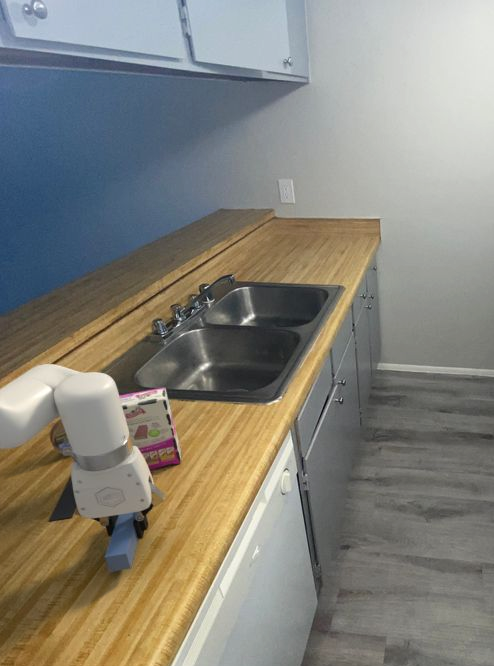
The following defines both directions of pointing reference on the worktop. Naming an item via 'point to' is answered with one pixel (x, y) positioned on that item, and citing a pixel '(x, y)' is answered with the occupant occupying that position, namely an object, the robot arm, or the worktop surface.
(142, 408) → the candy bar box
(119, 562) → the stick
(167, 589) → the worktop surface
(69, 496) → the strip
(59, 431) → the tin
